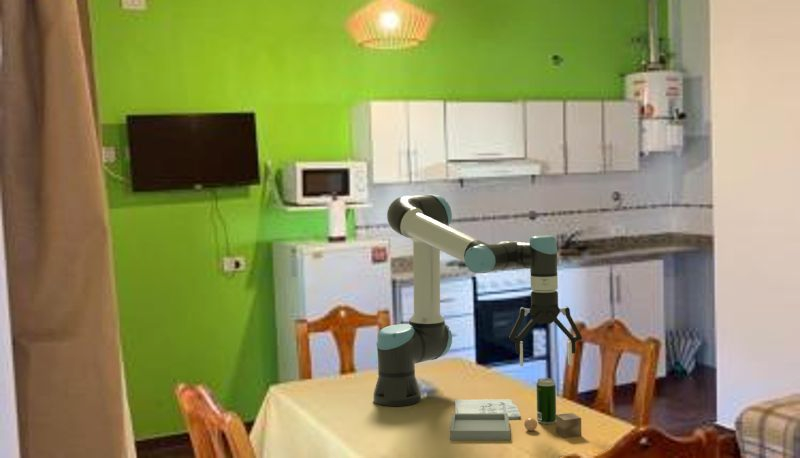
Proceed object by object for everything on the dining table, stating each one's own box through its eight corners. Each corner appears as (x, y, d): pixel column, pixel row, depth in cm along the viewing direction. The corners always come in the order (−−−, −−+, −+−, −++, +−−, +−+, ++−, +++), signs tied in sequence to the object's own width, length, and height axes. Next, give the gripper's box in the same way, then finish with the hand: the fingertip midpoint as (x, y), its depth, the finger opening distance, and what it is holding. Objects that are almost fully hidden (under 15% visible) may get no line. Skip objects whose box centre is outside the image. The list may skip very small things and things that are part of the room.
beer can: (546, 425, 231) (545, 383, 230) (533, 421, 236) (532, 380, 235) (560, 422, 234) (559, 380, 233) (547, 417, 238) (546, 377, 238)
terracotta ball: (524, 432, 226) (524, 420, 226) (524, 428, 229) (523, 416, 229) (537, 432, 225) (537, 420, 225) (536, 428, 229) (536, 416, 229)
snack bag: (455, 422, 239) (455, 415, 239) (454, 403, 259) (453, 396, 259) (521, 421, 238) (521, 414, 238) (514, 401, 258) (514, 395, 258)
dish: (450, 439, 221) (449, 430, 221) (451, 421, 237) (451, 413, 237) (510, 439, 220) (509, 430, 220) (507, 421, 236) (507, 413, 236)
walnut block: (564, 438, 220) (564, 419, 220) (556, 432, 225) (555, 414, 225) (581, 436, 222) (581, 418, 221) (573, 430, 226) (572, 412, 226)
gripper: (500, 293, 230) (501, 368, 231) (591, 291, 227) (592, 367, 229) (499, 289, 237) (501, 362, 238) (587, 287, 235) (588, 361, 236)
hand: (545, 364), depth 233 cm, fingers open, 13 cm apart
